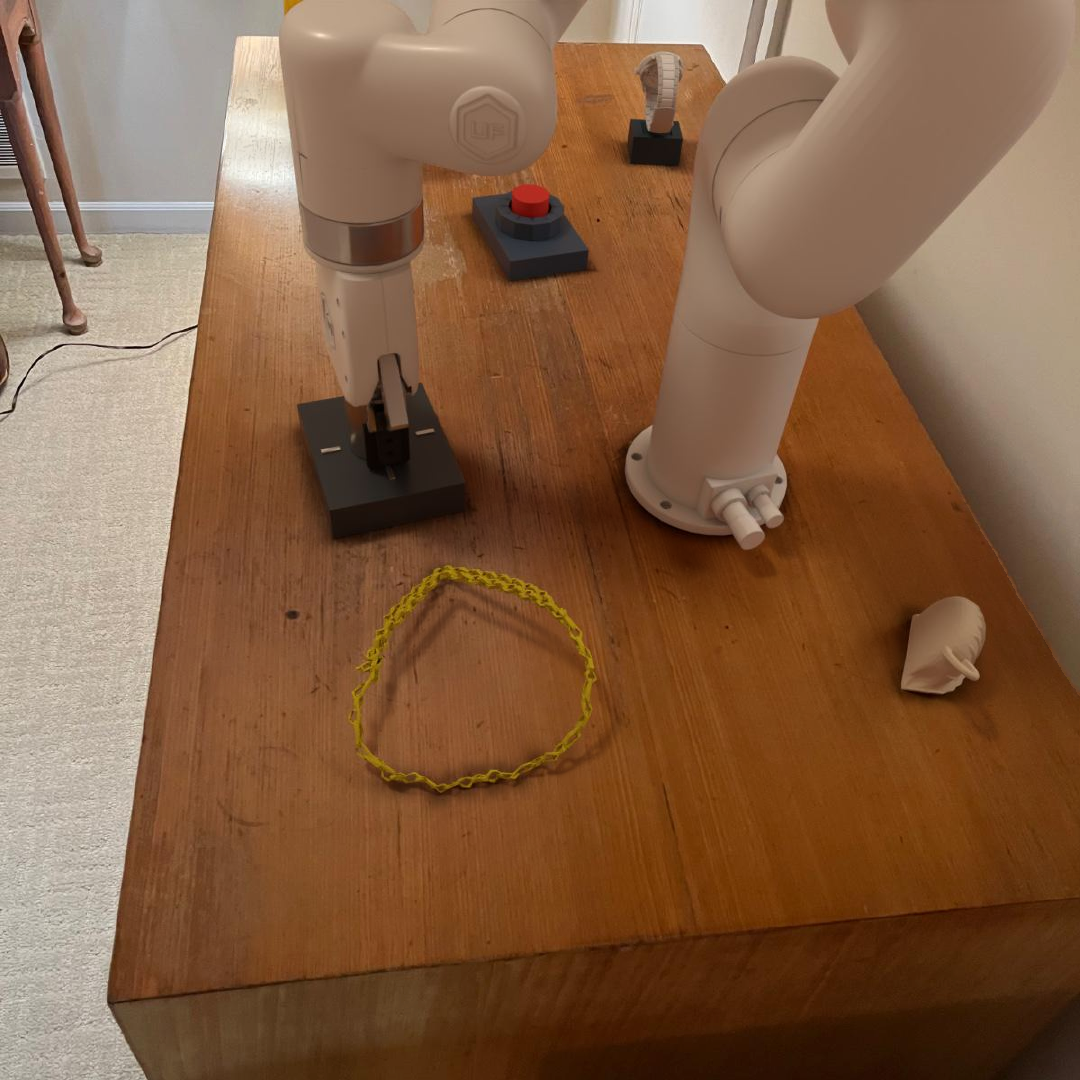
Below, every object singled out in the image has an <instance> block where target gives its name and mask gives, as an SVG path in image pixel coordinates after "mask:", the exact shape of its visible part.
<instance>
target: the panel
mask: <svg viewBox="0 0 1080 1080" xmlns="http://www.w3.org/2000/svg"><path fill="white" fill-rule="evenodd" d="M406 405H407V415H408V422H409V444H410V460H409V461H407V462H405V463H400V464H395V465H390V466H385V467H380V468H375V469H369V468H368V467H367V464H366V460H365V459H363V458H361V457H359V456H357V455H356V454H355V453H354V452H353V451H352V450H351V448H350V446H349V440H348V430H347V420H346V411H345V401H344V395H342V396H337V397H331V398H330V397H329V398H324V399H319V400H313V401H307V402H301V403H297V404H296V410H297V415H298V422H299V423H298V424H299V429H300V430H299V431H300V434H301V438H302V441H303V444H304V447H305V451H306V454H307V457H308V461H309V464H310V467H311V471H312V475H313V477H314V481H315V483H316V487H317V491H318V494H319V497H320V501H321V504H322V507H323V510H324V513H325V517H326V520H327V522H328V523H327V524H328V527H329V530H330V533H331V536H332V539H339V538H344V537H348V536H355V535H358V534H363V533H368V532H372V531H378V530H382V529H387V528H390V527H396V526H401V525H405V524H410V523H414V522H419V521H424V520H427V519H428V520H429V519H433V518H438V517H443V516H448V515H452V514H457V513H461V512H465V511H466V487H467V486H466V484H467V483H466V480H465V478H464V475H463V473H462V471H461V469H460V466H459V465H458V462H457V460H456V458H455V455H454V453H453V450H452V448H451V446H450V444H449V442H448V439H447V436H446V435H445V432H444V429H443V428H442V425H441V423H440V421H439V419H438V417H437V414H436V411H435V410H434V407H433V405H432V403H431V400H430V398H429V395H428V393H427V392H426V389H425V387H424V385H423V383H422V382H418V389H417V391H416V393H415V394H414V395H413V396H412V397H410V396H409V394H406Z"/></svg>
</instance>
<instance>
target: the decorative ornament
mask: <svg viewBox="0 0 1080 1080" xmlns="http://www.w3.org/2000/svg"><path fill="white" fill-rule="evenodd" d="M986 631H987V626H986V622H985V617H984V614H983V612H982V611H981V608H980V605H978V604H976V603H975V602H974V601H971V600H970V599H969V598H967V597H964V596H958V595H955V596H948V597H944V598H942V599H939V600H937V601H936V602H935V601H934V602H933V603H932V604H930V605H929V606H928V607H927V608H925V609H924V610H923V611H922V612H920V613H916V614H913V615H912V617H911V622H910V627H909V636H908V644H907V651H906V657H905V660H904V666H903V672H902V676H901V682H900V688H901V690H905V691H910V692H911V691H912V692H918V693H924V694H925V693H926V694H934V695H935V694H936V695H944V694H946V693H951V692H954V691H955V689H957V688H958V687H959V686H961V685H962V683H963V680H964V679H965V678H966V679H968V680H970V681H972V682H973V681H974V682H976V681H978V680H979V679H980V672H979V670H977V668H976V667H975V663H976V661H977V659H978V658H979V656H980V654H981V651H982V648H983V646H984V644H985V641H986ZM956 687H957V688H956Z"/></svg>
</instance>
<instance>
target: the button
mask: <svg viewBox="0 0 1080 1080" xmlns="http://www.w3.org/2000/svg"><path fill="white" fill-rule="evenodd" d="M546 189H547V188H545V187H544V186H541V185H538V184H533V183H531V184H530V183H524V184H520V185H518V186H516V187H514V188H513V190H511V191H512V212H513V213H515V214H517V215H519V216H521V217H528V218H536V217H543V216H545V215H547V213H548V209H549V193H550V191H549V190H548V189H547V190H546Z"/></svg>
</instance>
